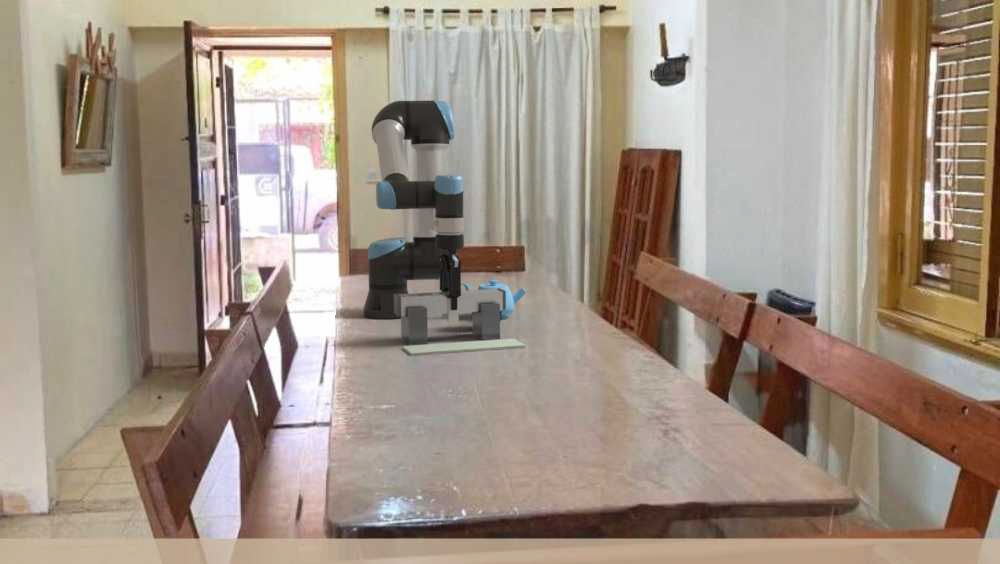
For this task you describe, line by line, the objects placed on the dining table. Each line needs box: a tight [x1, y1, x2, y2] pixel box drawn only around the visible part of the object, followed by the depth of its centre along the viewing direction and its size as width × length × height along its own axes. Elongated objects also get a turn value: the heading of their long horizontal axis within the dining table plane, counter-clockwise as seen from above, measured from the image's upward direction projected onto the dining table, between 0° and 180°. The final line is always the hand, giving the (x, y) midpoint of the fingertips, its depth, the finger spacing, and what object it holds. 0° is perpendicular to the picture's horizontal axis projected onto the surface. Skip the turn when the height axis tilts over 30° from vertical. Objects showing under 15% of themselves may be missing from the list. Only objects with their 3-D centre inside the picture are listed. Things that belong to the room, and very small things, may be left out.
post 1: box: [400, 307, 429, 346], centre depth 266 cm, size 9×5×10 cm, turn 18°
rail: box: [394, 288, 506, 316], centre depth 269 cm, size 30×5×5 cm, turn 108°
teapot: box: [461, 279, 528, 320], centre depth 301 cm, size 15×14×11 cm
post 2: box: [471, 303, 501, 341], centre depth 272 cm, size 9×5×10 cm, turn 18°
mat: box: [402, 338, 526, 357], centre depth 258 cm, size 9×30×1 cm, turn 108°
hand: (450, 319), depth 269 cm, fingers closed on rail, 5 cm apart
